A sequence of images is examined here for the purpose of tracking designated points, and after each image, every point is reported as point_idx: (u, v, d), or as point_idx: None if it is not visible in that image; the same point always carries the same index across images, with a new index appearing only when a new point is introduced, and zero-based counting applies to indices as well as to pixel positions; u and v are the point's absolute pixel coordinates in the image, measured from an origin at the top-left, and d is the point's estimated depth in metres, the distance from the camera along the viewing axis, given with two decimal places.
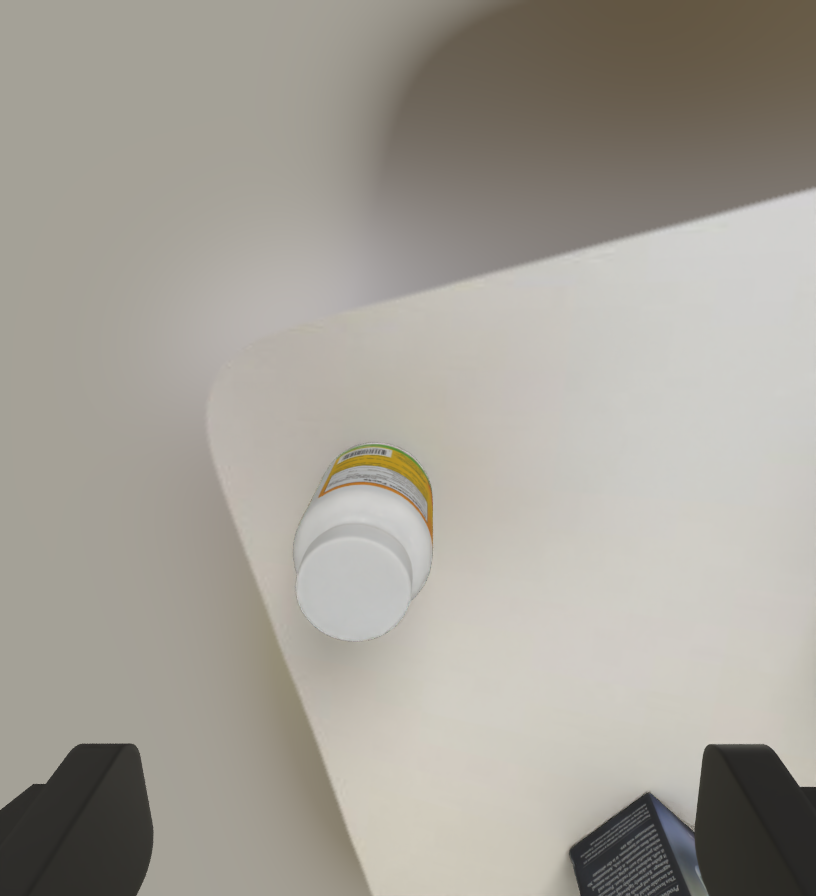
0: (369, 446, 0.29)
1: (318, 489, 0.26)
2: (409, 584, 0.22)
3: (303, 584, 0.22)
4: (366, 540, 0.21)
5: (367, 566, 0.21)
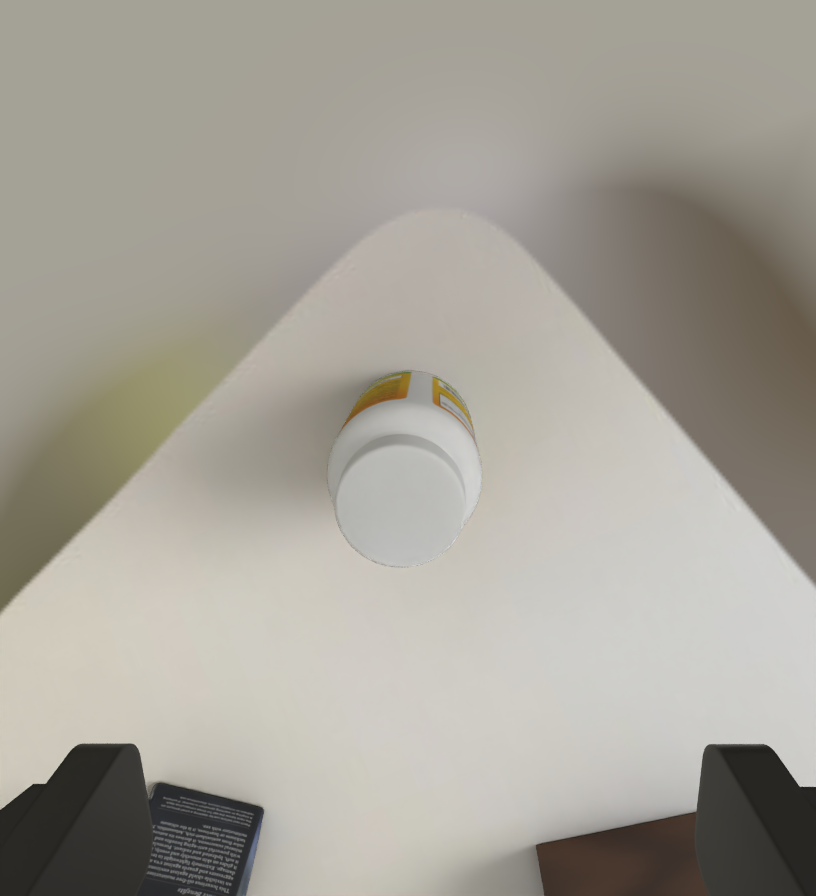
0: (463, 401, 0.27)
1: (420, 389, 0.24)
2: (438, 555, 0.20)
3: (378, 458, 0.19)
4: (463, 494, 0.19)
5: (436, 509, 0.19)
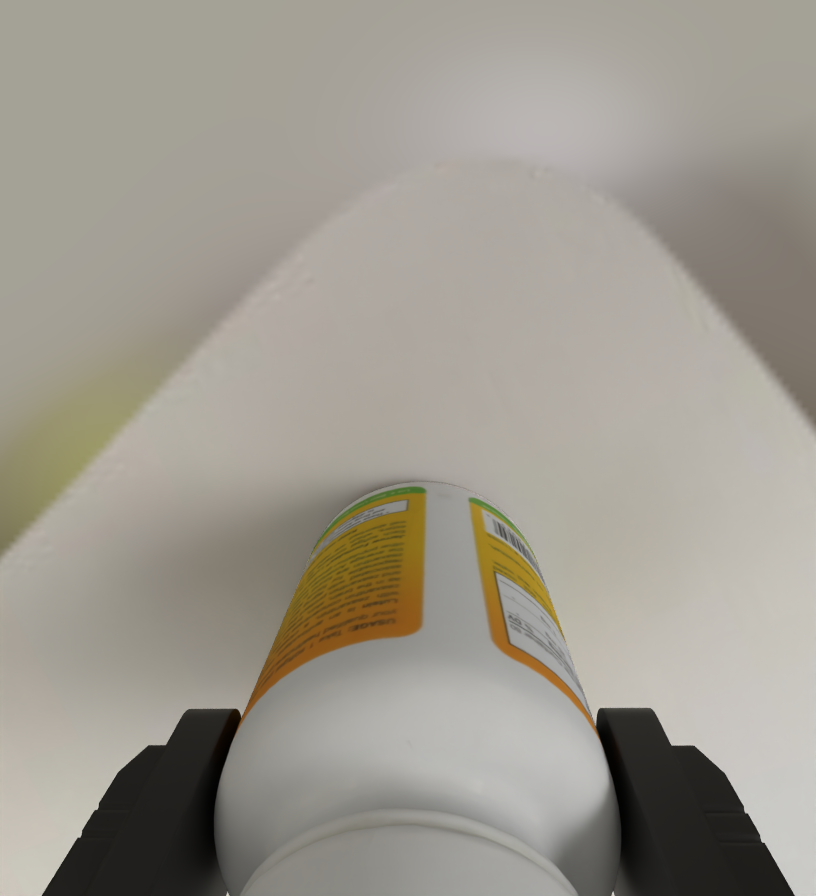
0: (529, 548, 0.13)
1: (453, 566, 0.10)
2: None
3: None
4: None
5: None
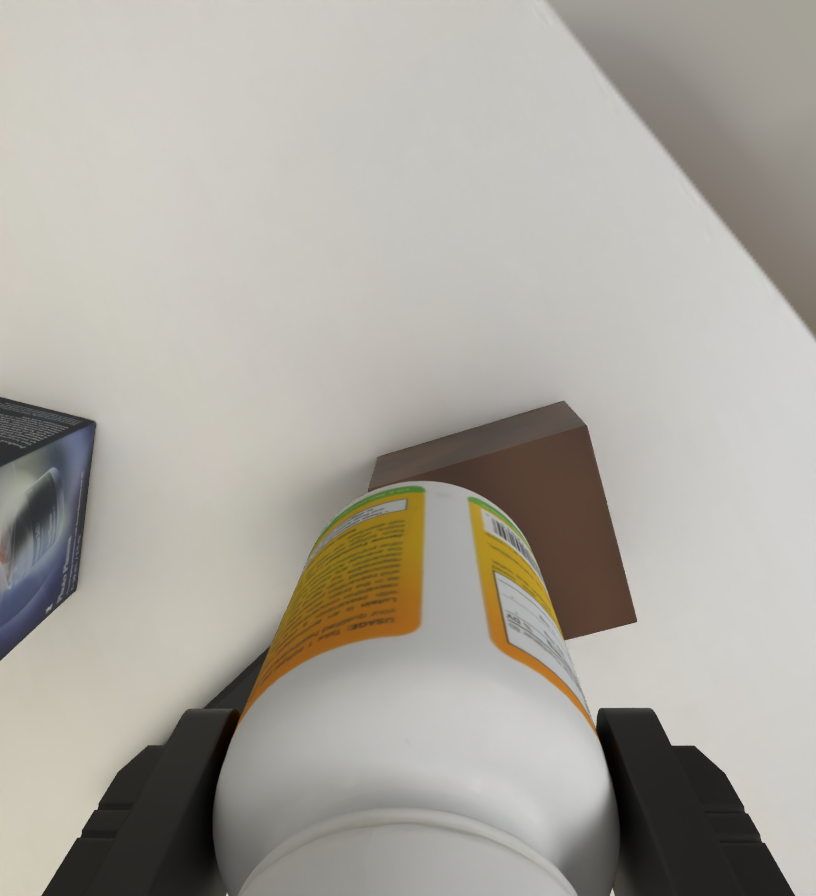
0: (528, 547, 0.13)
1: (452, 566, 0.10)
2: None
3: None
4: None
5: None
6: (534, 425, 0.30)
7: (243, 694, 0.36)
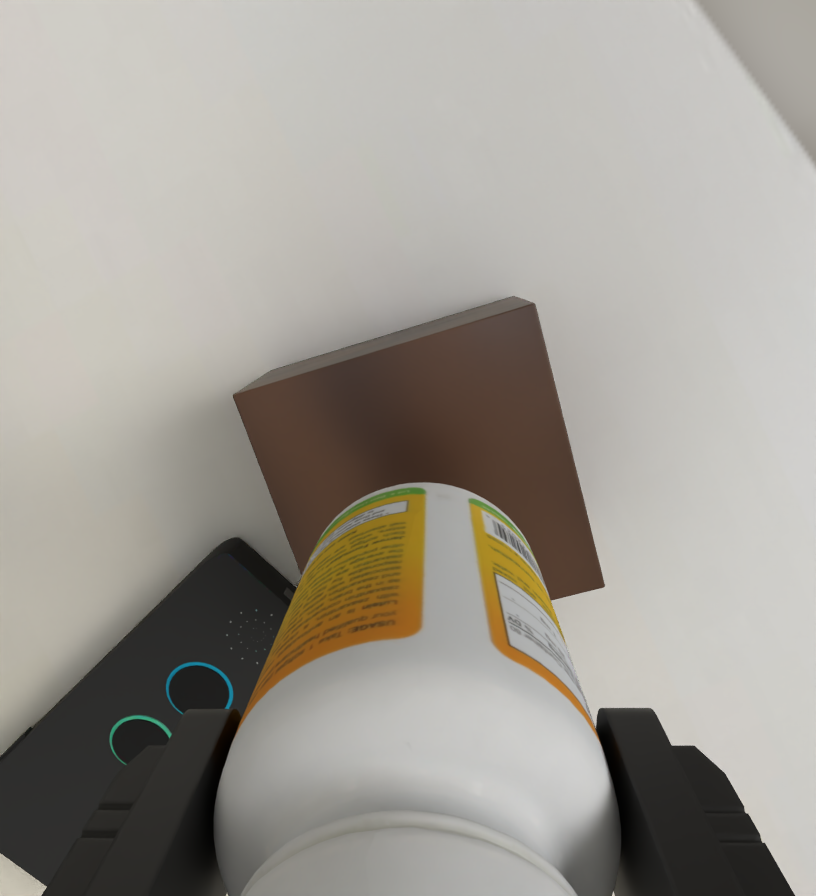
0: (529, 549, 0.13)
1: (453, 568, 0.10)
2: None
3: None
4: None
5: None
6: (468, 315, 0.22)
7: (100, 683, 0.28)
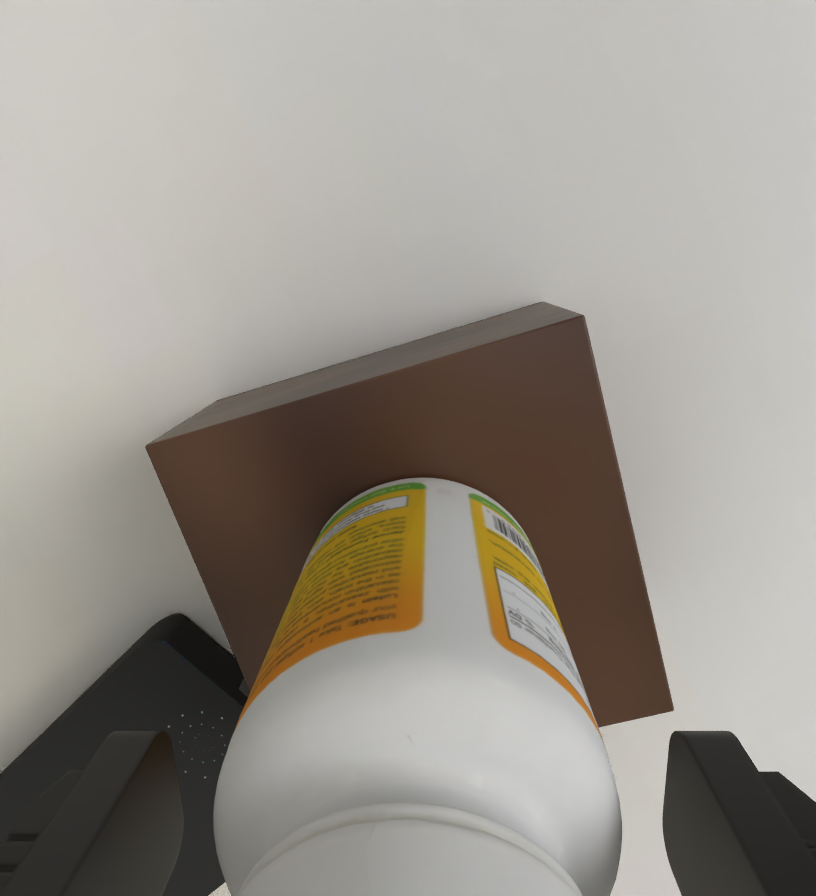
0: (529, 544, 0.13)
1: (453, 562, 0.10)
2: None
3: None
4: None
5: None
6: (484, 330, 0.16)
7: (4, 800, 0.22)
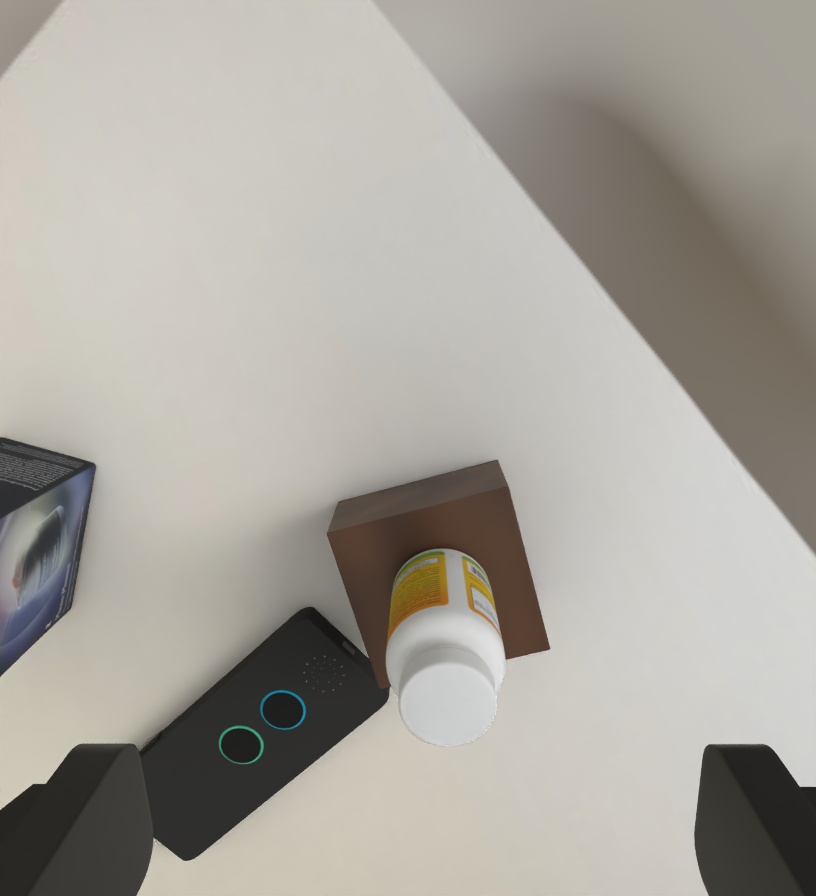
0: (485, 576, 0.33)
1: (456, 584, 0.30)
2: None
3: (434, 671, 0.25)
4: (495, 698, 0.25)
5: (474, 707, 0.26)
6: (469, 482, 0.36)
7: (215, 704, 0.41)
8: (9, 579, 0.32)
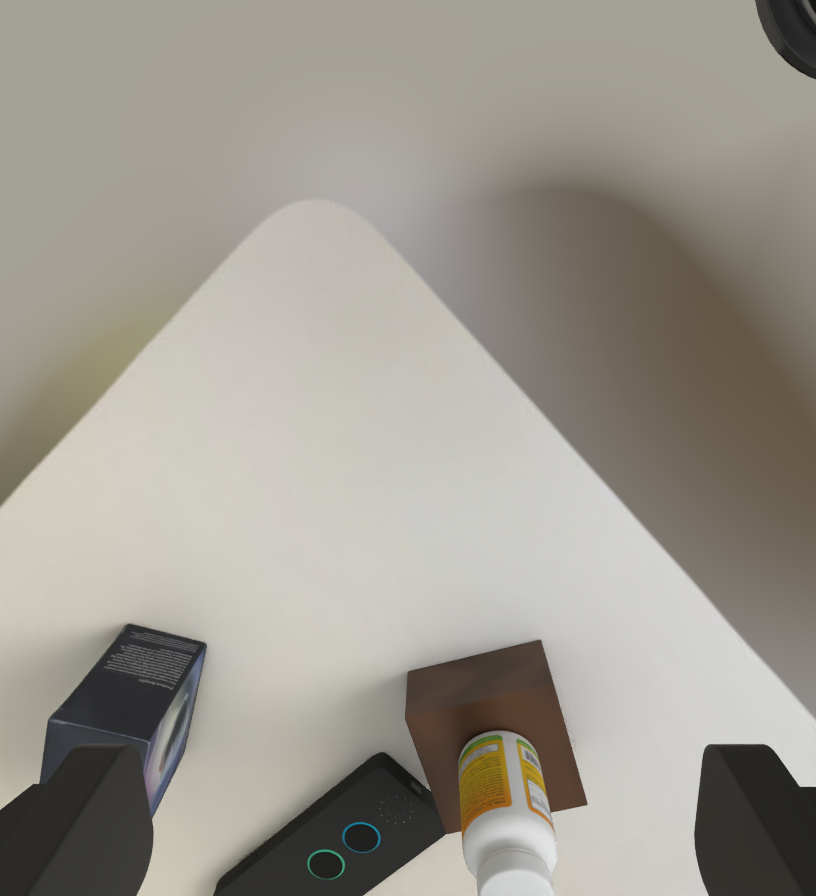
0: (535, 756, 0.41)
1: (516, 779, 0.38)
2: None
3: (506, 875, 0.33)
4: (553, 893, 0.33)
5: None
6: (519, 669, 0.43)
7: (305, 832, 0.49)
8: (157, 769, 0.40)
